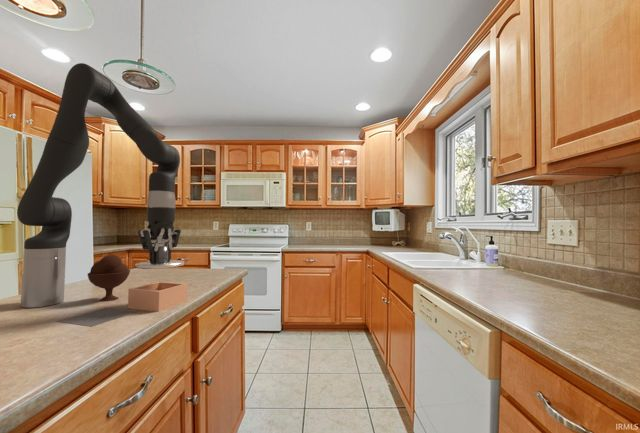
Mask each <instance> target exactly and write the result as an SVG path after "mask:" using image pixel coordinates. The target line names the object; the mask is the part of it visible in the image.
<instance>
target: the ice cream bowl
mask: <svg viewBox="0 0 640 433" xmlns="http://www.w3.org/2000/svg"><path fill="white" fill-rule="evenodd" d="M130 272H131V269H129V267H128V266H127V265H126V264H124V263H123V260H122V258H121V257H119V256H118V255H117V254H116V255H115V254H107V255H104V256H103V257H102V258H101V259H100V260H98V261H96V262H95V263H93V264H92V266H91V268H90V271H89V273H87V278H88V280H89V282H90V283H91V284H93V285H94V286H95V287H97V288H101V289H104V290H105V296H104V297H102V298H100V299H99V300H98V301H99V302H104V303H105V302H112V301H116V300H119V297H117V296H115V295H113V290H114V289H115V288H118V287H119V286H120V285H122V284H123V283H124V282H125V281H126V280H127V278H128V277H129V276H130Z"/></svg>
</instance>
